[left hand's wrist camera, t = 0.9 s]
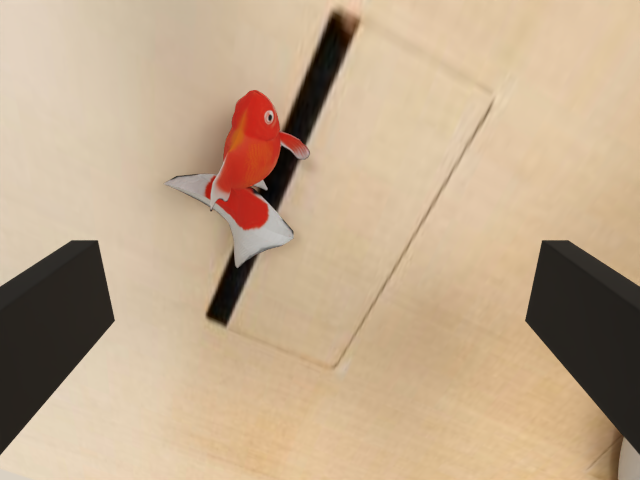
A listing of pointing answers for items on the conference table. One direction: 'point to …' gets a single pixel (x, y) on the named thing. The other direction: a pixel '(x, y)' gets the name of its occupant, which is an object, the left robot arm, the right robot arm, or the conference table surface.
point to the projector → (628, 462)
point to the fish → (247, 178)
